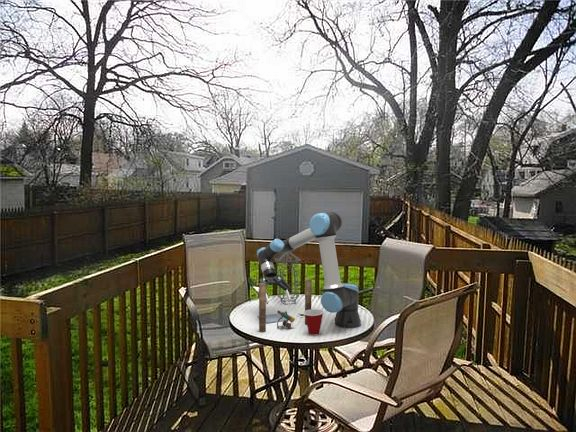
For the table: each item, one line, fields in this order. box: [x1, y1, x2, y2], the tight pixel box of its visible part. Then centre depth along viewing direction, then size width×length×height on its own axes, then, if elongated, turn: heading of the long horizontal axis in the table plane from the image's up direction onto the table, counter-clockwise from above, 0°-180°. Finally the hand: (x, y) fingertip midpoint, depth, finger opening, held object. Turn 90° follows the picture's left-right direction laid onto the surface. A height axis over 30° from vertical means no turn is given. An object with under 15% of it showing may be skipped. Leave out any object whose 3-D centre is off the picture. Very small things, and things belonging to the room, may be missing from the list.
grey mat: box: [257, 313, 290, 325], centre depth 263 cm, size 14×14×1 cm
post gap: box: [258, 278, 313, 333], centre depth 246 cm, size 4×32×26 cm, turn 116°
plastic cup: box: [303, 308, 325, 336], centre depth 238 cm, size 11×11×12 cm
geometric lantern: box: [273, 251, 302, 305], centre depth 299 cm, size 16×16×35 cm
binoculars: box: [276, 310, 296, 330], centre depth 246 cm, size 9×9×10 cm
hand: (278, 301), depth 254 cm, fingers open, 13 cm apart
